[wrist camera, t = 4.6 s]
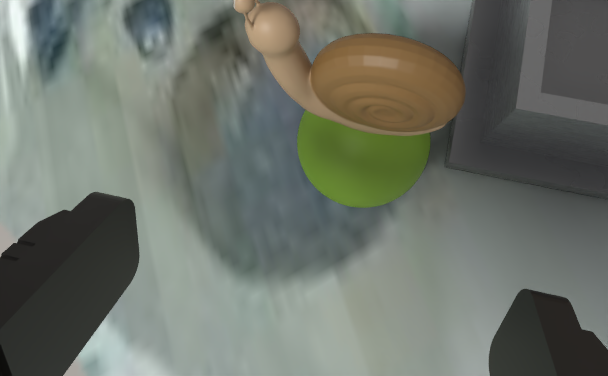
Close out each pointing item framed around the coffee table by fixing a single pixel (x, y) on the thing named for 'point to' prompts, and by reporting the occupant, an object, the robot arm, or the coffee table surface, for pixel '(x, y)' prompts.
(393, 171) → the snail figurine
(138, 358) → the coffee table surface
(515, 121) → the duct collar
